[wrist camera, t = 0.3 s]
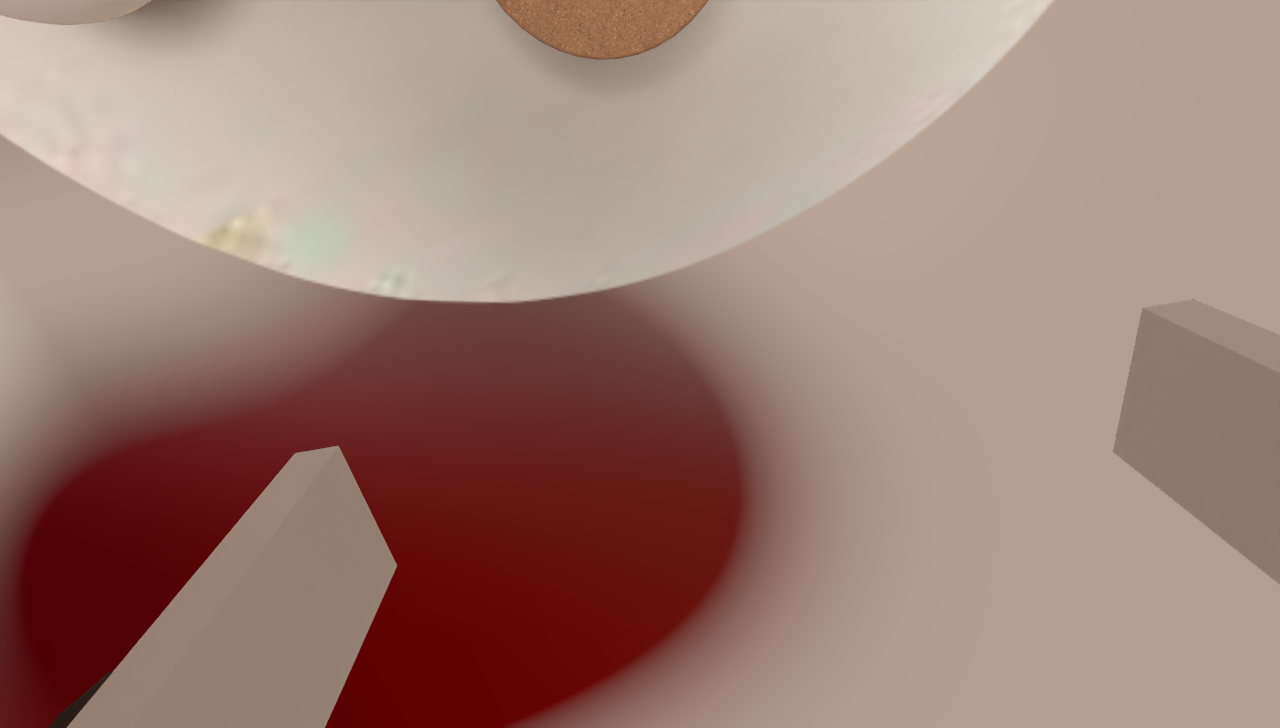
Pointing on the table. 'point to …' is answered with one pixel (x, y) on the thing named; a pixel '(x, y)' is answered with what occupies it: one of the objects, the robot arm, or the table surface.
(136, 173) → the table surface
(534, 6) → the lidded jar
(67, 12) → the decorative ball
